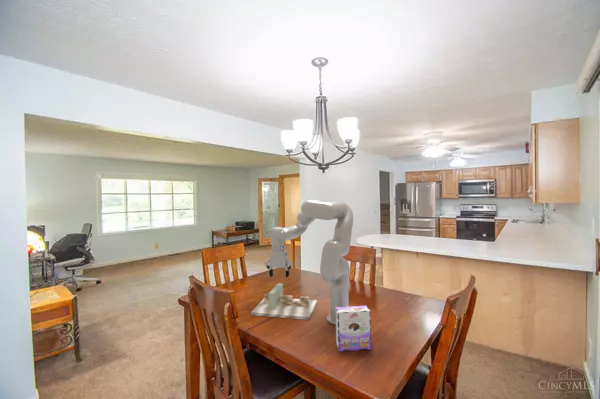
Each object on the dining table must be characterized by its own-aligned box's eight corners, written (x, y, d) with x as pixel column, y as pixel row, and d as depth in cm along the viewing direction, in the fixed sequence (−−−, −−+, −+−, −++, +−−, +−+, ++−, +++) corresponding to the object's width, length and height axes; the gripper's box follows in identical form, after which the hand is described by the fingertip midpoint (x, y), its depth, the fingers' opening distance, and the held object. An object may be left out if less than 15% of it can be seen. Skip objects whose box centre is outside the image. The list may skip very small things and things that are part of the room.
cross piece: (278, 298, 166) (277, 283, 166) (283, 298, 166) (282, 283, 165) (269, 309, 151) (268, 293, 150) (274, 309, 150) (273, 293, 150)
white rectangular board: (316, 302, 162) (316, 291, 162) (309, 320, 140) (309, 307, 140) (265, 299, 169) (265, 288, 169) (251, 314, 148) (250, 303, 148)
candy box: (367, 342, 119) (367, 304, 118) (371, 350, 113) (371, 310, 112) (335, 343, 118) (335, 306, 118) (338, 351, 112) (337, 312, 112)
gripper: (293, 246, 164) (295, 275, 164) (266, 246, 168) (267, 274, 168) (290, 249, 157) (291, 279, 157) (261, 249, 161) (263, 278, 161)
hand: (279, 276), depth 163 cm, fingers open, 9 cm apart
